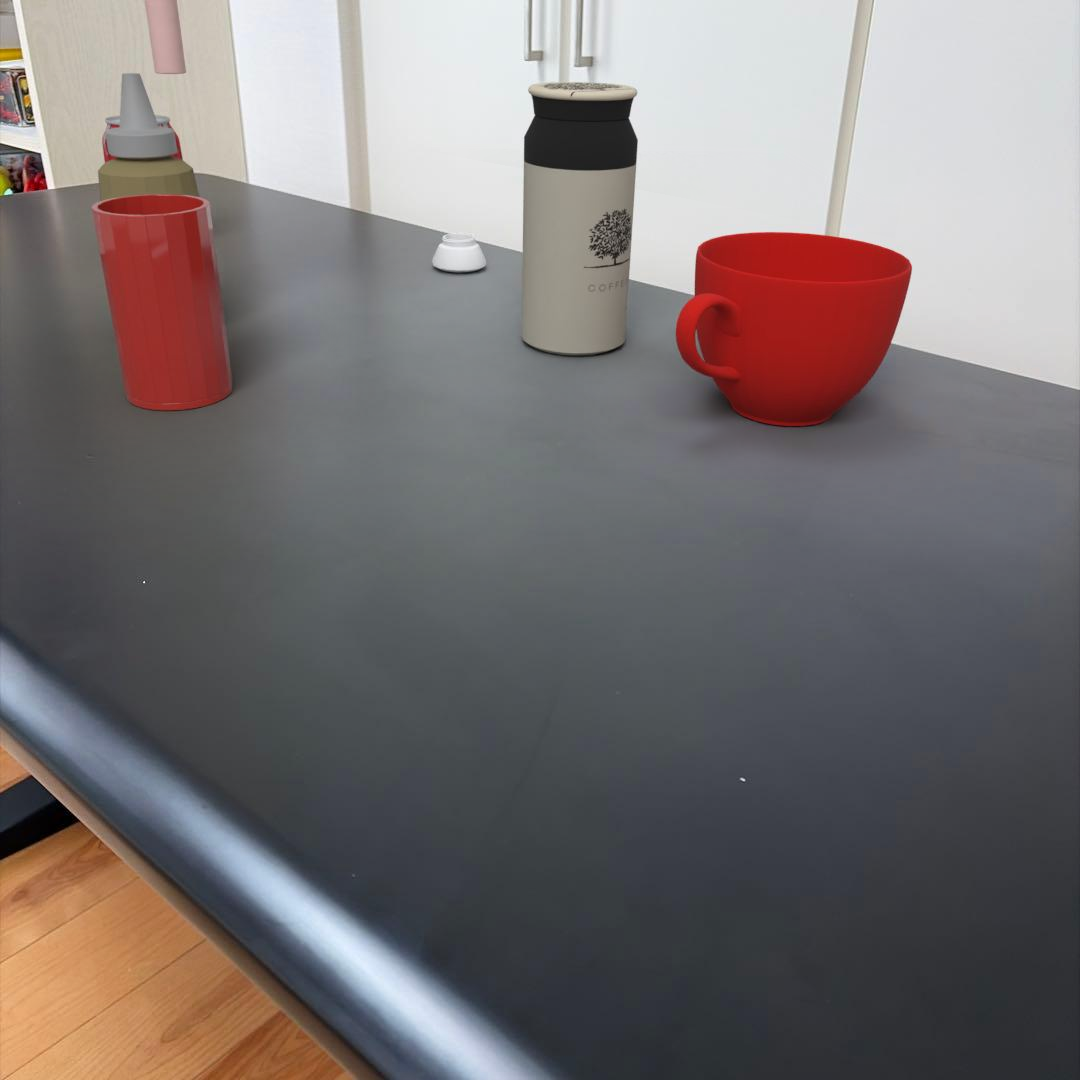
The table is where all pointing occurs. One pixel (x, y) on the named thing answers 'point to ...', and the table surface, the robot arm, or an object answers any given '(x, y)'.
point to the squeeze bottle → (142, 151)
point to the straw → (165, 36)
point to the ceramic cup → (791, 321)
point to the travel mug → (578, 217)
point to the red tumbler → (164, 299)
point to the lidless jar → (459, 254)
